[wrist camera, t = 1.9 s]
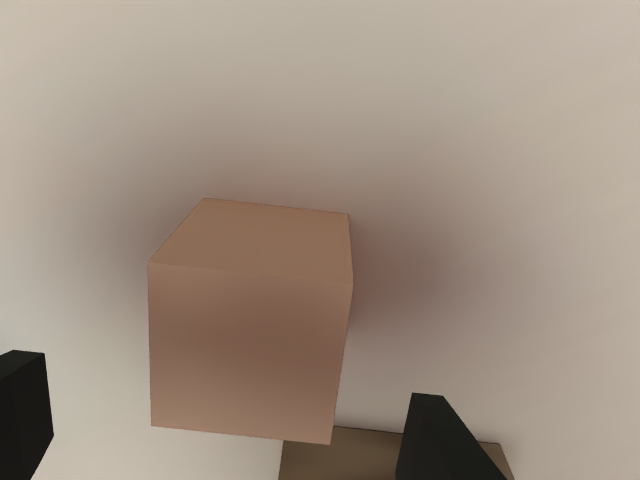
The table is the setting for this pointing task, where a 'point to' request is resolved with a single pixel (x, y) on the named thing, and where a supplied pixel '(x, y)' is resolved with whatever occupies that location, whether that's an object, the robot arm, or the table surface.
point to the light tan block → (250, 321)
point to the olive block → (356, 457)
